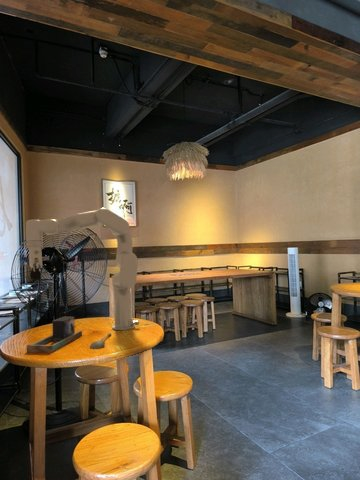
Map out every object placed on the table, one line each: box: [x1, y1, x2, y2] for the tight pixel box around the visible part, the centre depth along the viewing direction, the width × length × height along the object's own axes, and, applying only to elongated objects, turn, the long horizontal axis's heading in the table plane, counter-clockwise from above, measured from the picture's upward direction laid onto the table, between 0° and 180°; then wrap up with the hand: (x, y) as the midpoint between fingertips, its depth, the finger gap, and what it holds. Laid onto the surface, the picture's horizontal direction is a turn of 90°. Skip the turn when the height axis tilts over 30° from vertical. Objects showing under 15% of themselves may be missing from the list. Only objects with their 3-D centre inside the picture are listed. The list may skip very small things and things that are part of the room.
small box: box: [52, 315, 76, 343], centre depth 160 cm, size 11×6×10 cm, turn 168°
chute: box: [26, 330, 83, 354], centre depth 153 cm, size 12×27×3 cm, turn 169°
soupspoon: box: [89, 333, 112, 350], centre depth 153 cm, size 22×3×7 cm
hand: (35, 279), depth 159 cm, fingers open, 9 cm apart
